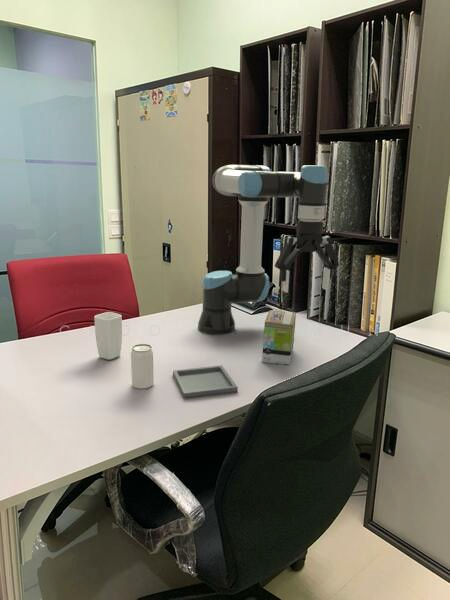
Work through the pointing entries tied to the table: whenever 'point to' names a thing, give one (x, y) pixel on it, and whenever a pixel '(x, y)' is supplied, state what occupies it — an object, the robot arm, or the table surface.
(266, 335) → the tea box
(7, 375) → the table surface
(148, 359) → the can
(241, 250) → the robot arm
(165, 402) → the table surface
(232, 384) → the tray
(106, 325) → the cup
